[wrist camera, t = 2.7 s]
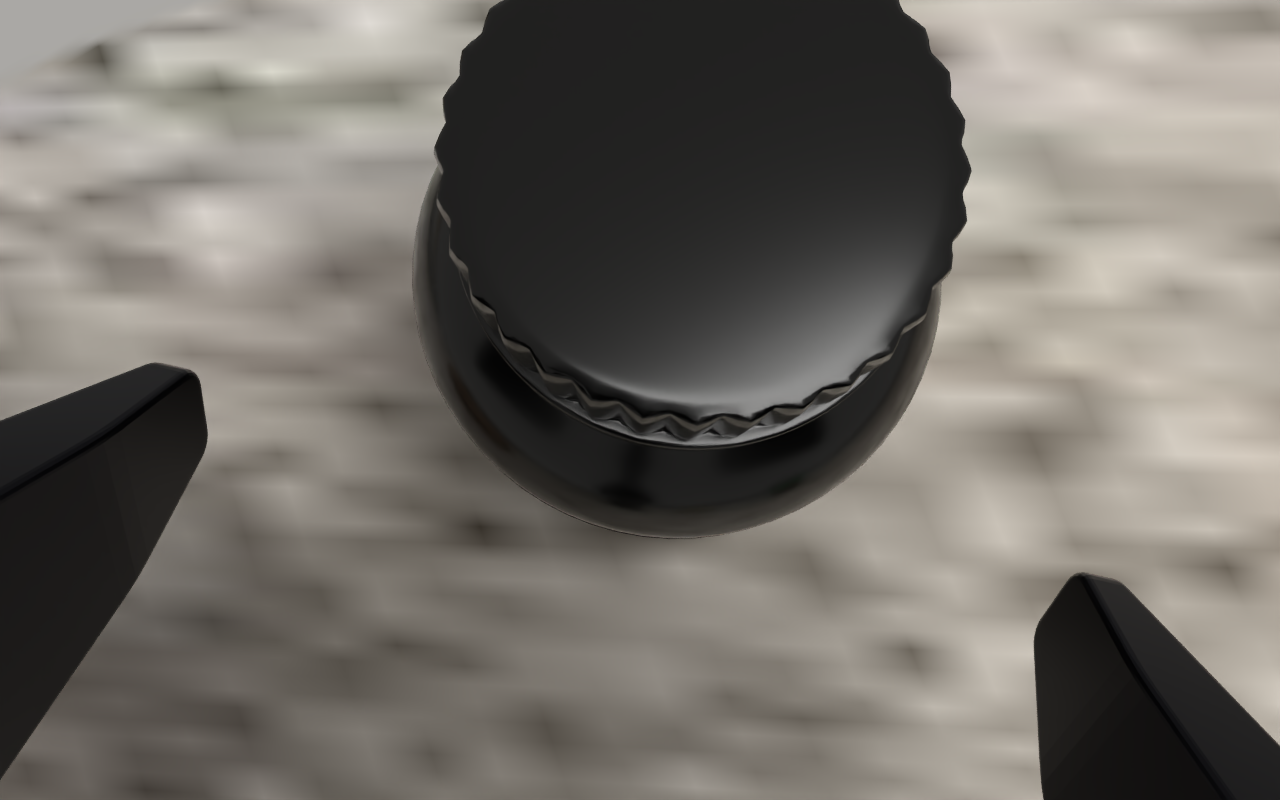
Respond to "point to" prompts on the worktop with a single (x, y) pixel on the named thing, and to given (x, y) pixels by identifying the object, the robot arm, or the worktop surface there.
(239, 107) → the worktop surface
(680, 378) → the supplement bottle
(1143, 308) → the worktop surface
